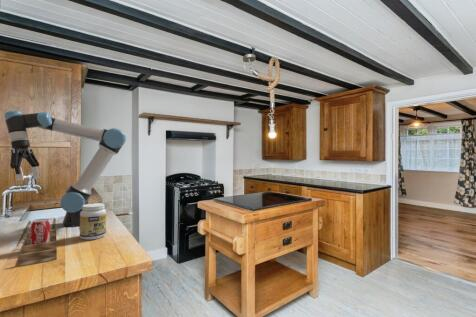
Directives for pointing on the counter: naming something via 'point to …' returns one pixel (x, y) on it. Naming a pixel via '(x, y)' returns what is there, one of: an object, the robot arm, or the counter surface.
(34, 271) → the counter surface
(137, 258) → the counter surface
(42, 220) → the soda can
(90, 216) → the supplement tub
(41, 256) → the rack
